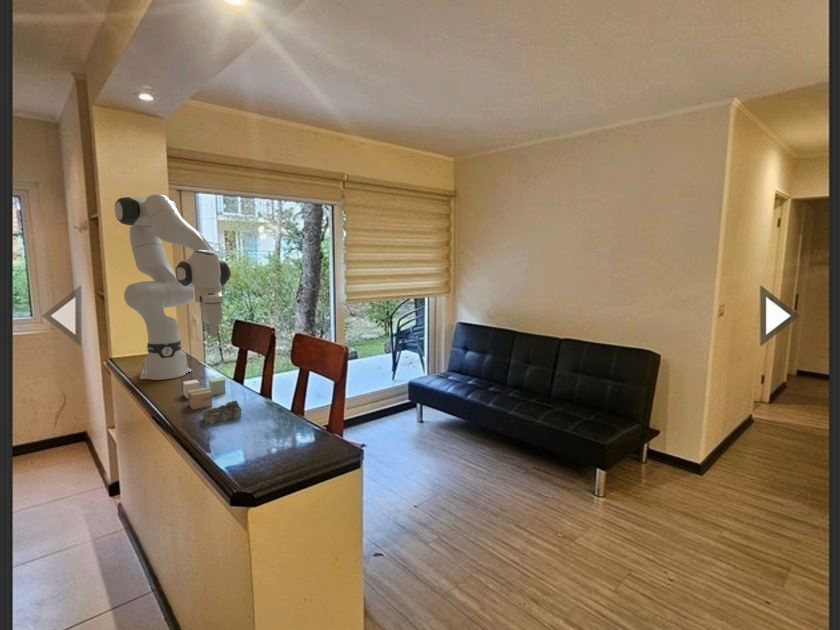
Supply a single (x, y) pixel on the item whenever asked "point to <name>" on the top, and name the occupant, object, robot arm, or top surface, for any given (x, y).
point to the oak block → (199, 398)
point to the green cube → (217, 385)
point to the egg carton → (222, 412)
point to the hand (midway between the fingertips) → (212, 335)
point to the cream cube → (190, 386)
